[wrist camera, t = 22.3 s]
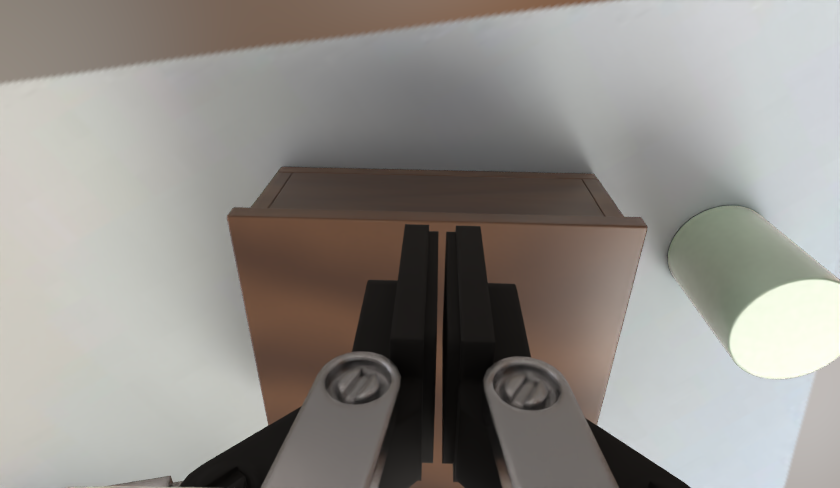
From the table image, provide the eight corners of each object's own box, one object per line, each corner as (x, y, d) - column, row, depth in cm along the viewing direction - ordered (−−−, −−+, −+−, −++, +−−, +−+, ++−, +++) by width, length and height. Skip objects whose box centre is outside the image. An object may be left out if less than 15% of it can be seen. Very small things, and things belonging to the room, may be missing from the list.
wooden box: (281, 166, 27) (243, 215, 22) (594, 173, 27) (630, 224, 22) (309, 409, 35) (286, 487, 30) (552, 418, 35) (571, 498, 29)
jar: (653, 233, 28) (712, 311, 22) (756, 187, 27) (850, 257, 21) (684, 305, 30) (747, 395, 24) (781, 266, 29) (874, 351, 23)
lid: (232, 206, 21) (225, 216, 20) (641, 216, 20) (648, 226, 20) (286, 488, 30) (282, 501, 29) (571, 499, 29) (574, 513, 29)
